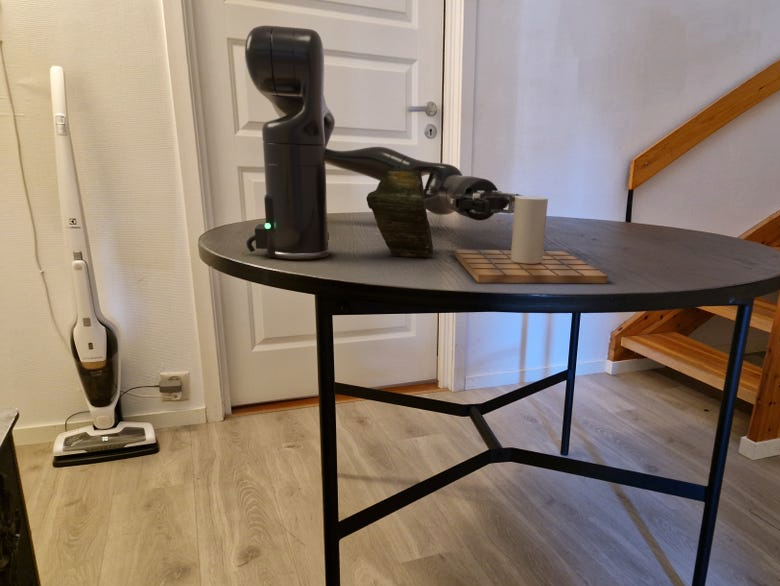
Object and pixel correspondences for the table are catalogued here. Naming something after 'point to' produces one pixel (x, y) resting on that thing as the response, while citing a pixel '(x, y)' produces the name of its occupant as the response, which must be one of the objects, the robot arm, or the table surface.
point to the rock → (402, 213)
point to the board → (527, 268)
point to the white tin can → (528, 229)
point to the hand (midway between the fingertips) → (510, 207)
